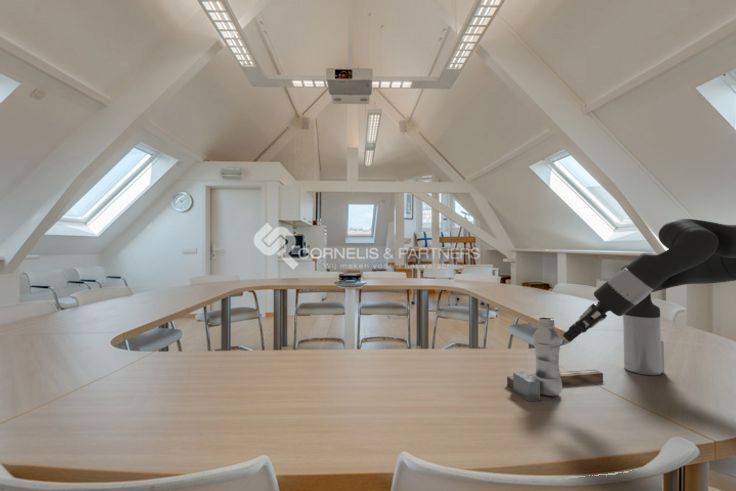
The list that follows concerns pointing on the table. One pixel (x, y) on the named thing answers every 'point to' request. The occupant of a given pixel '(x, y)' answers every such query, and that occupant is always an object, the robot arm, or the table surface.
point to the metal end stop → (526, 386)
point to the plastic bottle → (547, 357)
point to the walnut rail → (572, 377)
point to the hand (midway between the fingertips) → (569, 334)
